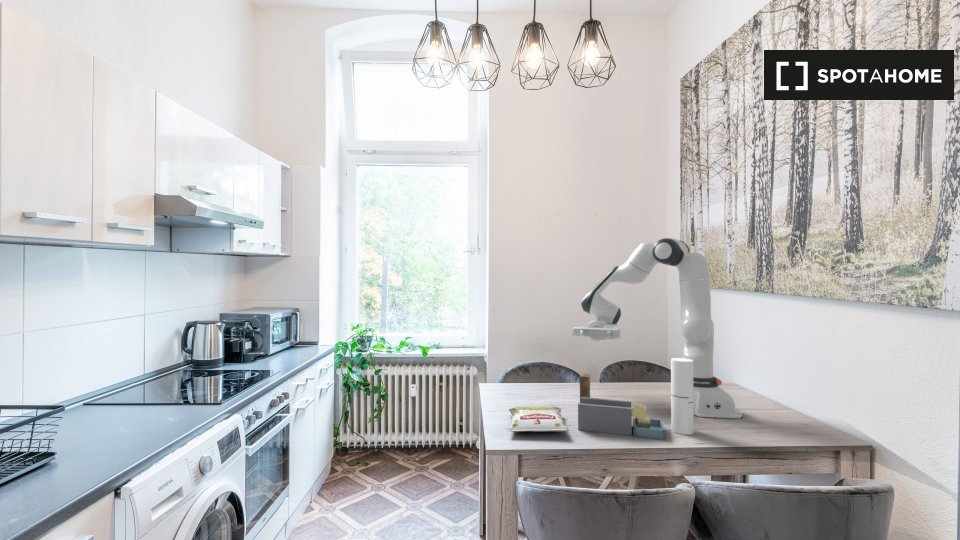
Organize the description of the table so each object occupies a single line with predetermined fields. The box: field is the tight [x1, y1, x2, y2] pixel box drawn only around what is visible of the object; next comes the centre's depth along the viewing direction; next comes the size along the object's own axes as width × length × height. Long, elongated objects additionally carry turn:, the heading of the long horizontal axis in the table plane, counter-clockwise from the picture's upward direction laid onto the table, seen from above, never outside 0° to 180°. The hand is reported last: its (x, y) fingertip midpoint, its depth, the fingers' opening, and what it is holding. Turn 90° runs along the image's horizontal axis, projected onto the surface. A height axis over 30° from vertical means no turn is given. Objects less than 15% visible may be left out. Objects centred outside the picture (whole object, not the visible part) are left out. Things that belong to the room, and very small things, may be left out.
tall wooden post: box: [579, 373, 591, 399], centre depth 172 cm, size 4×5×16 cm
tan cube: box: [632, 401, 648, 420], centre depth 156 cm, size 4×4×4 cm
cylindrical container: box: [670, 357, 695, 436], centre depth 156 cm, size 7×7×25 cm
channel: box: [577, 397, 633, 436], centre depth 160 cm, size 18×10×9 cm, turn 72°
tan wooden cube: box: [638, 416, 651, 429], centre depth 155 cm, size 4×4×4 cm
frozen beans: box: [508, 406, 569, 433], centre depth 161 cm, size 21×6×25 cm
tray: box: [632, 416, 666, 441], centre depth 155 cm, size 10×12×3 cm
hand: (594, 334), depth 186 cm, fingers open, 8 cm apart
